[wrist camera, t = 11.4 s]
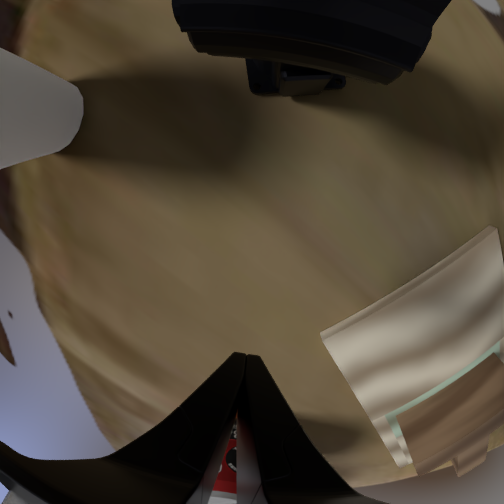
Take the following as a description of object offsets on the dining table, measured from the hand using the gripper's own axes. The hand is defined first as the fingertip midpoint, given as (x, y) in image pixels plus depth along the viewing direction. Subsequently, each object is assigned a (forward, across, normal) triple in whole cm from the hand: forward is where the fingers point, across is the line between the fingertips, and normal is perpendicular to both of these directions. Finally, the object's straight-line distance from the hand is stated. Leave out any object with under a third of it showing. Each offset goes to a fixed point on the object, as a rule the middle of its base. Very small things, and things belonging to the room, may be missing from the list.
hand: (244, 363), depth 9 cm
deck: (+12, -22, +11) cm, 28 cm away
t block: (+11, -26, +16) cm, 33 cm away
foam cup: (+13, +19, -9) cm, 24 cm away
